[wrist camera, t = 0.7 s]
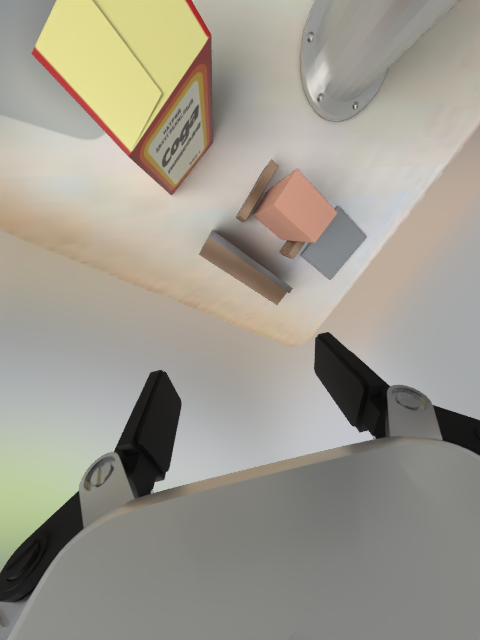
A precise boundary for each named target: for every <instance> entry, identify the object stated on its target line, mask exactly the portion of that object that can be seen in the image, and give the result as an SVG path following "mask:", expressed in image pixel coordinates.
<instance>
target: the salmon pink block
mask: <svg viewBox="0 0 480 640" xmlns="http://www.w3.org/2000/svg"><path fill="white" fill-rule="evenodd" d="M336 214H337V212H336V211H335V209H334V208H333V207H332V206H331V205H330V204H329V203H328V202H327V201H326V200H325V199H324V198H323V196H322V195H321V194H320V193H319V192H318V191H317V190H316V189H315V188H314V187H313V186H312V185H311V183H310V182H309V181H308V180H307V179H306V178H305V177H304V176H303V175H302V174H301V173H300V172H299V170H298V169H296V170H294V171H293V172H292V173H291V174H289V175H288V176H287V177H285V178H284V179H283V180H282V181H280V182H279V183H278V184H276V185H275V186H274V187H272V188H271V189H270V190H269V191H267V192H266V194H265V195H264V197H263V199H262V200H261V202H260V204H259V205H258V207H257V208H256V210H255V212H254V213H253V216H254V217H255V218H257V219H258V220H259V221H260V222H261V223H263V224H264V225H265V226H266V227H267V228H269V229H270V230H271V231H272V232H273V233H274V234H276V235H277V236H278V237H279V238H280V239H282V240H290V241H300V242H310V243H315V242H316V241H317V239H318V238H319V237H320V235H321V234H322V233H323V231H324V230H325V229H326V227H327V226H328V225H329V223H330V222H331V221H332V220H333V218H334V217H335V216H336Z"/></svg>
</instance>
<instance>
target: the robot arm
mask: <svg viewBox="0 0 480 640" xmlns="http://www.w3.org/2000/svg"><path fill="white" fill-rule="evenodd" d="M459 1H460V0H315V1H314V3H313V6H312V8H311V10H310V13H309V16H308V19H307V21H306V24H305V28H304V33H303V37H302V44H301V52H300V69H301V78H302V83H303V87H304V91H305V94H306V96H307V99H308V101H309V103H310V104H311V106H312V107H313V109H314V110H315V111H316V112H317V113H318V114H319V115H320V116H321V117H323V118H325V119H327V120H331V121H342V120H345V119H348V118H350V117H352V116H353V115H355V114H357V113H358V112H359V111H360V110H361V109H363V108H364V107H365V106H366V105H367V104H368V103H369V102H370V100H371V99H372V98H373V97H374V95H375V94H376V92H377V91H378V89H379V88H380V86H381V84H382V82H383V80H384V78H385V76H386V73H387V71H388V68H389V67H390V66H391V65H392V64H393V63H394V62H395V61H396V60H397V59H398V58H399V57H401V56H402V55H403V54H404V53H405V52H406V51H407V50H408V49H409V48H410V47H411V46H412V45H413V44H414V43H415V42H416V41H417V40H419V39H420V38H421V37H422V36H423V35H424V34H425V33H426V32H427V31H428V30H429V29H430V28H431V27H432V26H433V25H434V24H435V23H436V22H438V21H439V20H440V19H441V18H442V17H443V16H444V15H445V14H446V13H447V12H448V11H449V10H450V9H451V8H452V7H453V6H454V5H455V4H457V3H458V2H459ZM314 370H315V373H316V375H317V376H318V378H319V379H320V381H321V382H322V384H323V385H324V386H325V388H326V389H327V391H328V392H329V393H330V395H331V397H332V398H333V399H334V401H335V402H336V404H337V405H338V406H339V408H340V409H341V411H342V412H343V414H344V415H345V417H346V418H347V420H348V421H349V422H350V424H351V425H352V426H356V428H357V429H358V431H359V432H363V431H367V430H369V432H370V433H371V434H372V436H373V440H370V441H365V442H361V443H356V444H351V445H346V446H342V447H338V448H334V449H329V450H325V451H321V452H317V453H313V454H308V455H305V456H300V457H296V458H292V459H288V460H283V461H279V462H275V463H271V464H267V465H263V466H259V467H255V468H251V469H247V470H242V471H238V472H234V473H230V474H226V475H223V476H218V477H215V478H210V479H206V480H202V481H198V482H194V483H190V484H186V485H183V486H179V487H175V488H171V489H167V490H164V491H160V492H156V493H154V492H153V490H152V489H153V487H154V482H157V481H161V480H164V478H165V473H166V472H167V471H168V470H169V467H170V461H171V457H172V452H173V446H174V441H175V436H176V431H177V426H178V420H179V416H180V410H181V399H180V397H179V396H178V394H177V392H176V390H175V388H174V386H173V385H172V383H171V381H170V379H169V377H168V375H167V373H166V372H163V371H162V370H158V371H155V372H151V373H150V375H149V377H148V379H147V381H146V383H145V386H144V388H143V390H142V392H141V394H140V397H139V399H138V401H137V402H136V405H135V407H134V409H133V411H132V413H131V416H130V418H129V420H128V422H127V424H126V426H125V429H124V431H123V433H122V435H121V438H120V440H119V442H118V444H117V446H116V448H115V451H114V452H111V453H107V454H105V455H103V456H101V457H100V458H98V459H97V460H96V461H95V462H94V463H93V464H92V465H91V466H90V467H89V468H88V469H87V471H86V472H85V474H84V476H83V477H82V479H81V482H80V485H79V491H78V492H77V493H76V494H75V495H74V496H73V497H72V498H70V499H69V500H68V501H67V502H66V503H65V504H64V505H63V506H62V507H61V508H60V509H59V510H58V511H56V512H55V513H54V514H53V515H52V516H51V517H50V518H49V519H48V520H47V521H46V522H45V523H44V524H42V525H41V526H40V527H39V528H38V529H37V530H36V531H35V532H34V533H33V534H32V535H31V536H30V537H28V538H27V539H26V540H25V542H23V543H22V544H21V546H20V547H19V548H18V549H17V550H16V551H15V552H14V553H13V555H12V556H11V557H10V559H9V560H8V561H7V563H6V565H5V566H4V568H3V569H2V571H1V573H0V640H480V420H477V419H474V418H471V417H468V416H465V415H462V414H458V413H456V412H452V411H449V410H446V409H443V408H440V407H437V406H434V405H432V403H431V401H430V400H429V399H428V398H427V396H425V395H424V394H423V393H421V392H420V391H418V390H416V389H414V388H411V387H408V386H404V385H393V386H389V385H388V384H387V383H386V382H384V381H383V380H382V379H381V378H380V377H379V376H378V375H377V374H376V373H375V372H374V371H372V370H371V369H370V368H369V367H368V366H367V365H366V364H365V363H364V362H362V361H361V360H360V359H359V358H358V357H357V356H356V355H355V354H354V353H352V352H351V351H349V350H348V349H347V348H346V347H345V346H344V345H342V344H341V343H340V342H339V341H338V340H337V339H336V338H335V337H333V335H331V334H330V333H329V332H326V333H322V334H319V335H318V337H316V339H315V363H314Z"/></svg>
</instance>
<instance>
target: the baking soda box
mask: <svg viewBox="0 0 480 640" xmlns="http://www.w3.org/2000/svg"><path fill="white" fill-rule="evenodd" d="M32 54H33V55H34V56H35V58H36V59H37V60H38V61H39V62H40V63H41V64H42V65H43V66H44V67H45V68H46V69H47V70H48V71H49V72H50V73H51V75H52V76H53V77H54V78H55V79H56V80H57V81H58V82H59V83H60V84H61V85H62V86H63V87H64V88H65V90H66V91H67V92H69V94H70V95H71V96H72V97H73V98H74V99H75V100H76V101H77V102H78V103H79V104H80V105H81V106H82V108H83V109H84V110H85V111H86V112H87V113H88V114H89V115H90V116H91V117H92V118H93V119H94V120H95V121H96V122H97V123H98V125H99V126H100V127H101V128H102V129H103V130H104V131H105V132H106V133H107V134H108V135H109V136H110V137H111V138H112V139H113V141H114V142H115V143H116V144H117V145H118V146H119V147H120V148H121V149H122V150H123V151H124V152H125V153H126V154H127V155H128V156H129V157H130V158H131V159H132V160H133V161H134V162H135V163H136V164H137V165H138V166H140V167H141V168H142V169H143V170H144V171H145V172H146V173H147V174H148V175H149V176H151V177H152V178H153V179H154V180H155V181H156V182H157V183H158V184H159V185H161V186H162V187H163V188H164V189H165V190H166V191H167V192H168V193H169V194H170V195H172V194H173V193H174V191H175V190H176V189H177V188H178V186H179V185H180V184H181V183H182V181H183V180H184V179H185V177H186V176H187V175H188V174H189V172H190V171H191V170H192V169H193V167H194V166H195V165H196V163H197V162H198V161H199V160H200V158H201V157H202V156H203V155H204V153H205V152H206V151H207V149H208V148H209V147H210V146H211V144H212V58H211V34H210V32H209V30H208V28H207V27H206V25H205V23H204V21H203V20H202V18H201V16H200V14H199V13H198V11H197V9H196V8H195V6H194V4H193V2H192V1H191V0H56V3H55V5H54V7H53V9H52V11H51V13H50V16H49V18H48V20H47V22H46V24H45V26H44V28H43V30H42V33H41V35H40V37H39V39H38V41H37V43H36V45H35V48H34V50H33V52H32Z"/></svg>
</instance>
